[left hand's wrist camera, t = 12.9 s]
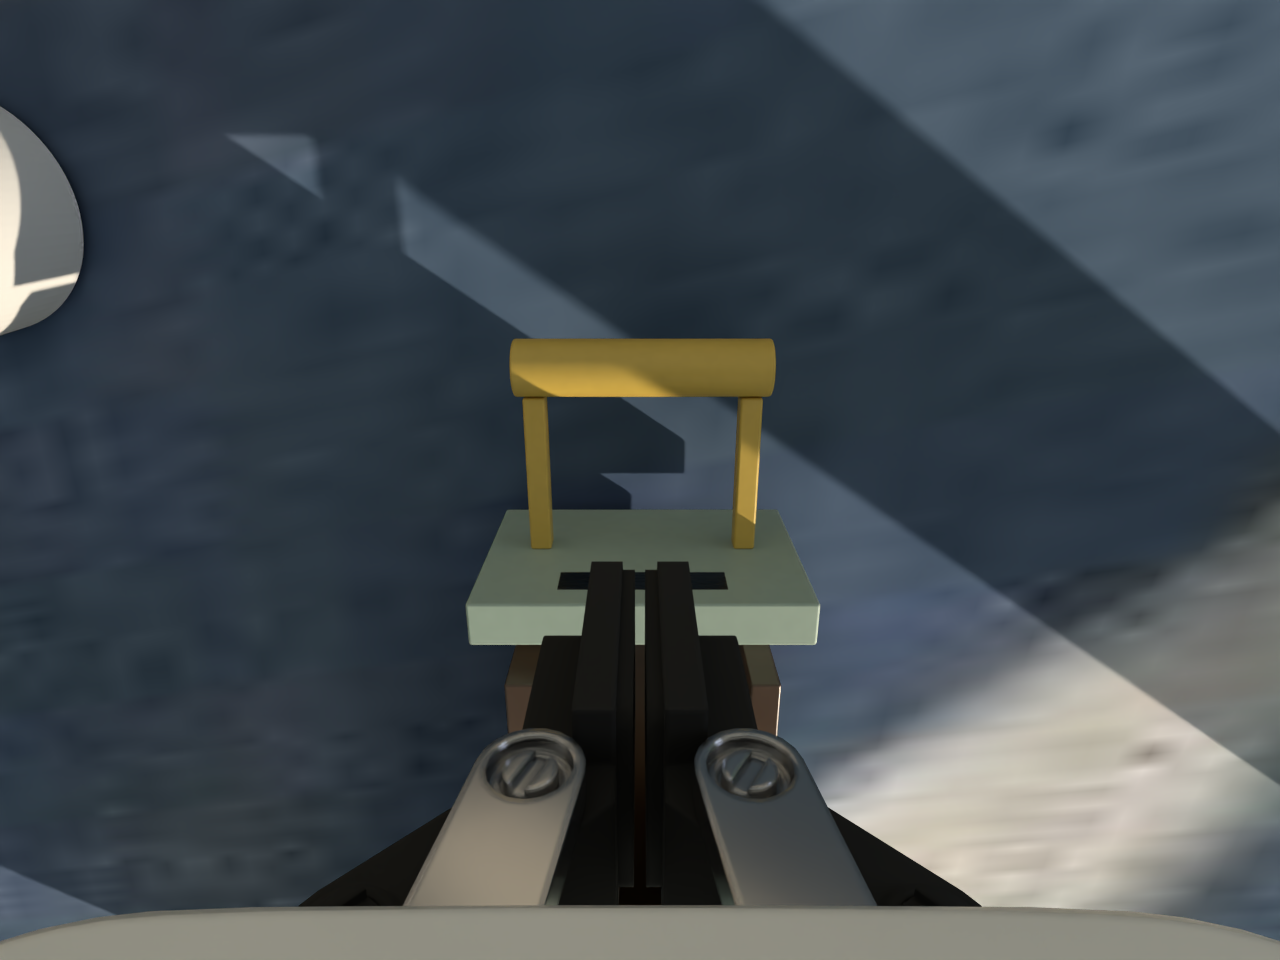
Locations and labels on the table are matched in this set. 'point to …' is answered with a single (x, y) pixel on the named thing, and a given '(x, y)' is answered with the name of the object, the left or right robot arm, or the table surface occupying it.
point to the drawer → (643, 533)
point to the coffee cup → (34, 229)
